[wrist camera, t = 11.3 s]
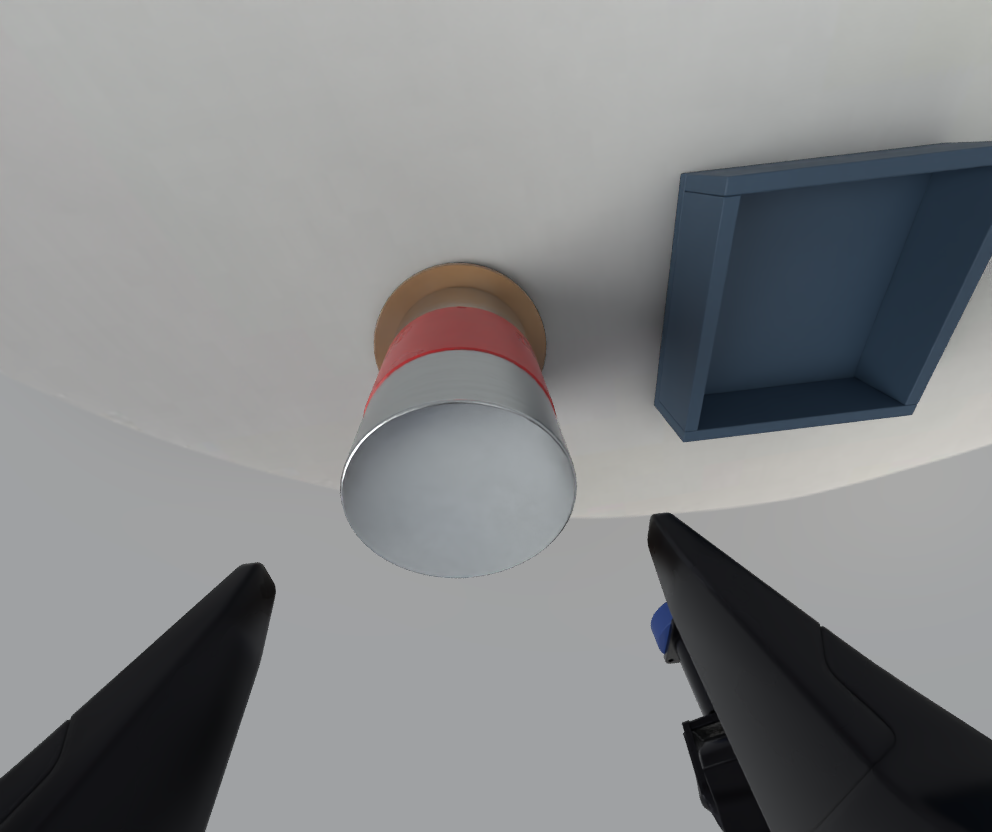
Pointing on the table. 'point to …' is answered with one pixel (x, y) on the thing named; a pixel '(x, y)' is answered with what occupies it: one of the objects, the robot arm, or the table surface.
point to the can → (459, 444)
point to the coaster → (458, 277)
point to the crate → (819, 287)
